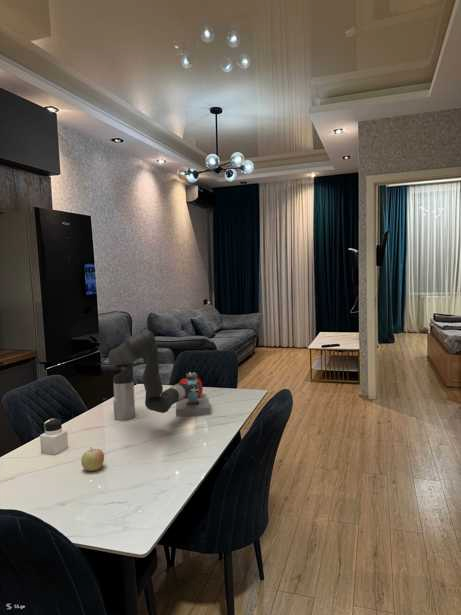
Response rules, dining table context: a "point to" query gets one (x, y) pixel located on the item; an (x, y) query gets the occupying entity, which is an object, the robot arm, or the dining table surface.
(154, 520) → the dining table surface
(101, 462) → the fruit
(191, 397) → the plug
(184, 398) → the tomato
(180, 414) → the socket block
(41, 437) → the medicine bottle
